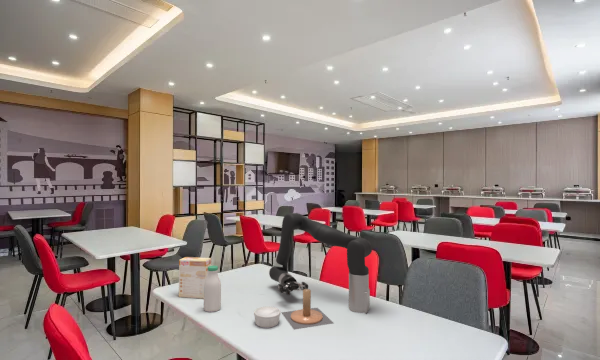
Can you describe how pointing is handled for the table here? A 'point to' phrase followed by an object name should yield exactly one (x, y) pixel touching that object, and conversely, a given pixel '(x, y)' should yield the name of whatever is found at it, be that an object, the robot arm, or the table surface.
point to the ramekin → (267, 316)
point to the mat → (299, 326)
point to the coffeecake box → (193, 276)
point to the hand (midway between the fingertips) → (297, 292)
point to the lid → (306, 311)
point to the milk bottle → (212, 290)
